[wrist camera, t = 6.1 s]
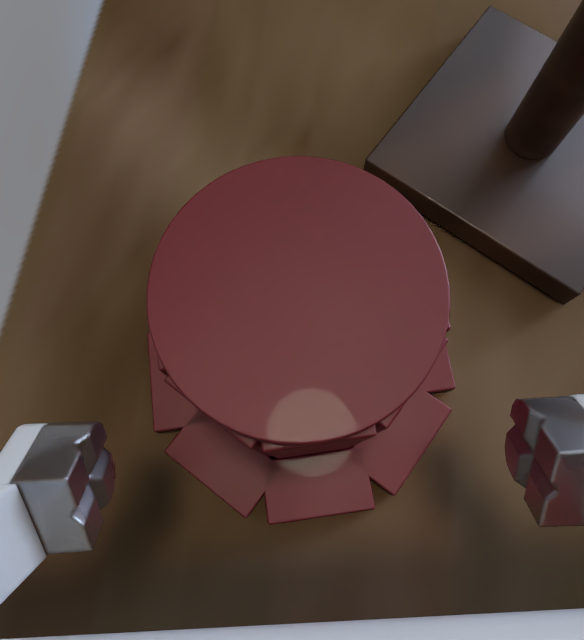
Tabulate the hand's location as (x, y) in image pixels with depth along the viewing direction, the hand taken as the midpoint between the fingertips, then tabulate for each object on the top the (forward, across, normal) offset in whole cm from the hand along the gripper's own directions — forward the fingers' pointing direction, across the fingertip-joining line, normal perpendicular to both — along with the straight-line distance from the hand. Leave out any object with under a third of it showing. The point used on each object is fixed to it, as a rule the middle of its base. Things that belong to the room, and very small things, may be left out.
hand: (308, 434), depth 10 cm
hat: (+8, 0, +3) cm, 8 cm away
